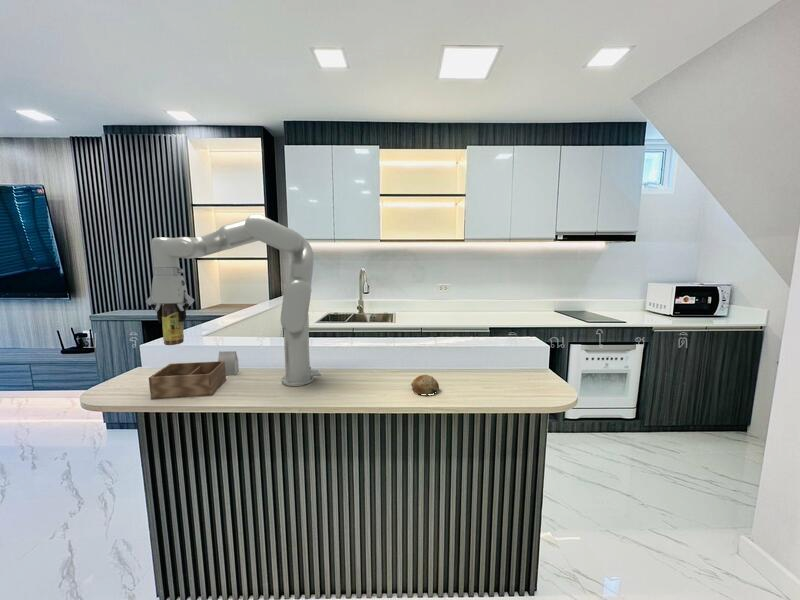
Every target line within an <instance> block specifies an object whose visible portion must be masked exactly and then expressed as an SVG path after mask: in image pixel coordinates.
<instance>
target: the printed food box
mask: <svg viewBox="0 0 800 600" xmlns="http://www.w3.org/2000/svg"><path fill="white" fill-rule="evenodd" d="M217 361H225V373H226V375H234V376H237V375H238V374H239V373H240V368H239V366H240V365H239V359H238V354H237V350H236V351H235V350H233V351H232V350H230V351H229V350H227V351H222V350H221V351H219V352H218V358H217ZM238 372H239V373H238ZM237 373H238V374H237ZM236 374H237V375H236Z"/></svg>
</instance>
